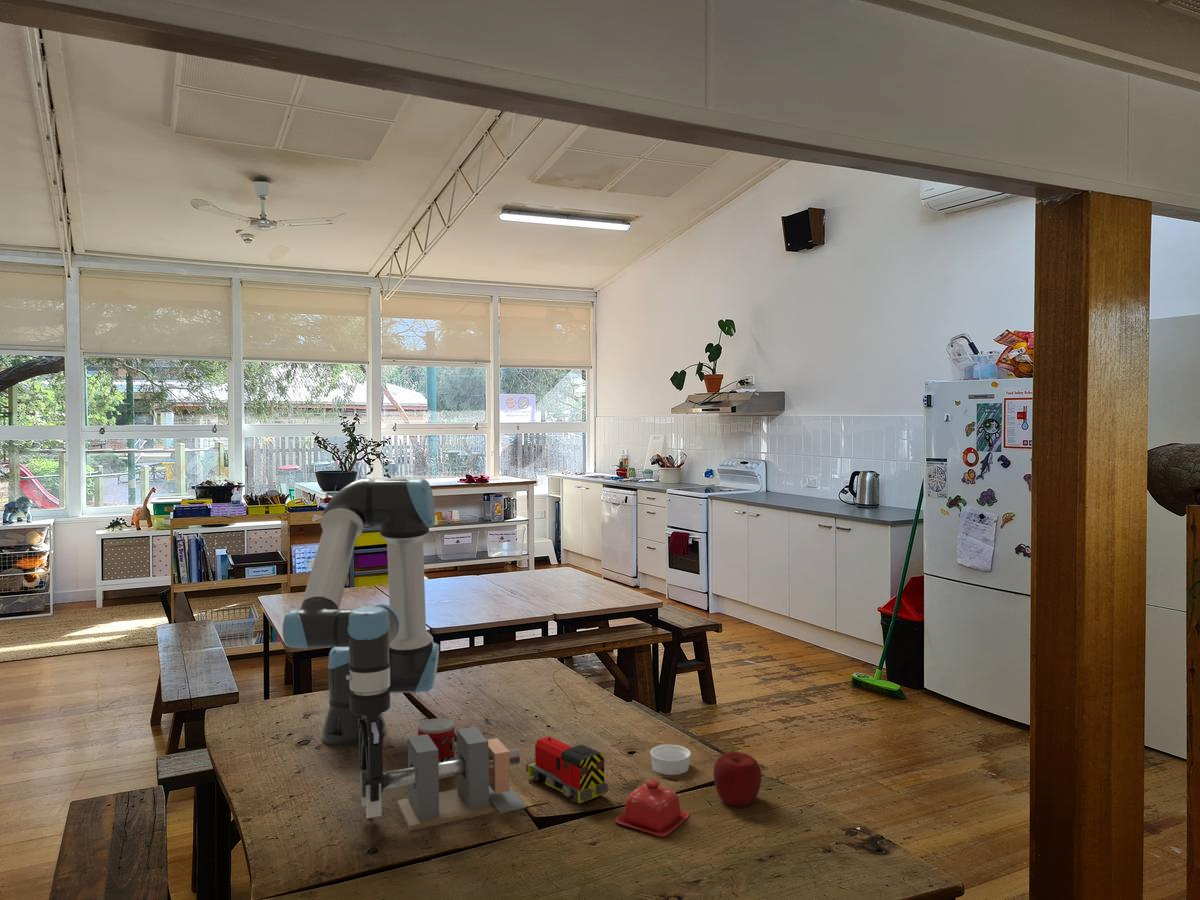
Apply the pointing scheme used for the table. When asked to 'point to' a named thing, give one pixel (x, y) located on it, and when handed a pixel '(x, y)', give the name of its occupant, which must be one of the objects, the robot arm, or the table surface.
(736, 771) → the apple
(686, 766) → the ramekin
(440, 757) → the canned food
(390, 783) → the shaft
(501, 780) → the block
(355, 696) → the robot arm
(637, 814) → the butter dish
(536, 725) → the table surface
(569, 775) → the toy train
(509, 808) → the mat
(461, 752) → the bearing frame
